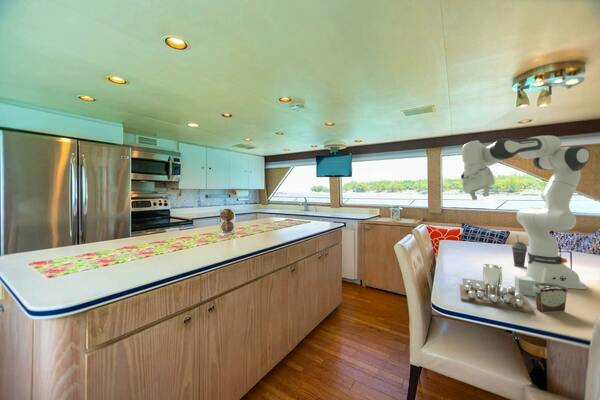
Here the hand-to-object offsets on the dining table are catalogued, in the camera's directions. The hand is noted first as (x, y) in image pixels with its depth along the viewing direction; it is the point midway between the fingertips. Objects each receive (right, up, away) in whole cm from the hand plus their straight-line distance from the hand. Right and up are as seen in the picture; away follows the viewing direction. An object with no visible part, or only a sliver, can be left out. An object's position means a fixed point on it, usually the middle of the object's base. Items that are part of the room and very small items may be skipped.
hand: (480, 198), depth 121 cm
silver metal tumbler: (-3, -46, -11) cm, 47 cm away
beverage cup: (+49, -43, +33) cm, 74 cm away
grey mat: (+3, -45, +6) cm, 46 cm away
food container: (+12, -46, -21) cm, 52 cm away
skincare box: (+17, -46, -6) cm, 49 cm away
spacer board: (-3, -46, -11) cm, 47 cm away
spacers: (-3, -46, -11) cm, 47 cm away
